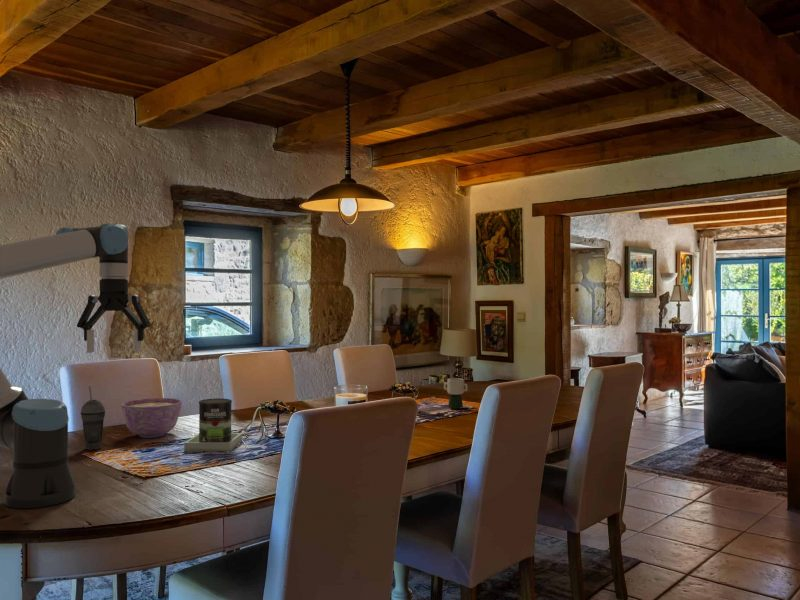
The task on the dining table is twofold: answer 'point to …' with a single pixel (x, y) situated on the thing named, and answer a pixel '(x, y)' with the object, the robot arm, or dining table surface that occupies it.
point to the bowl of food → (151, 416)
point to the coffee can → (215, 420)
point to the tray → (212, 444)
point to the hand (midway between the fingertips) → (114, 352)
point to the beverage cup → (92, 422)
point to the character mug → (455, 391)
